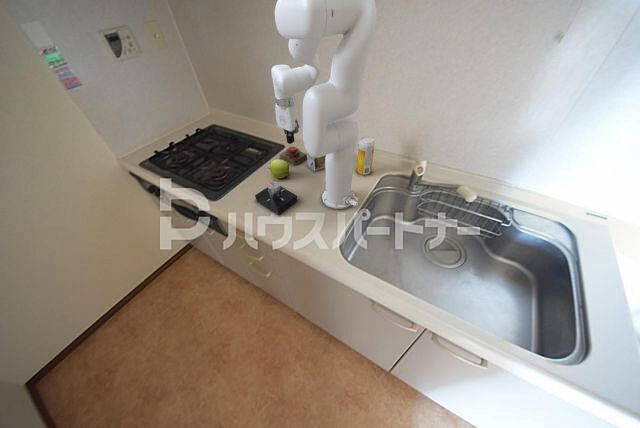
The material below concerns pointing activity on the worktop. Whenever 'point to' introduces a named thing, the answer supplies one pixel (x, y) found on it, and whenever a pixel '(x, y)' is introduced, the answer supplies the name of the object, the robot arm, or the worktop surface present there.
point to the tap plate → (276, 200)
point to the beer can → (365, 155)
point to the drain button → (292, 149)
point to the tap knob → (274, 190)
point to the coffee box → (316, 162)
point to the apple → (279, 168)
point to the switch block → (293, 156)
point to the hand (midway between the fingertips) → (290, 142)
